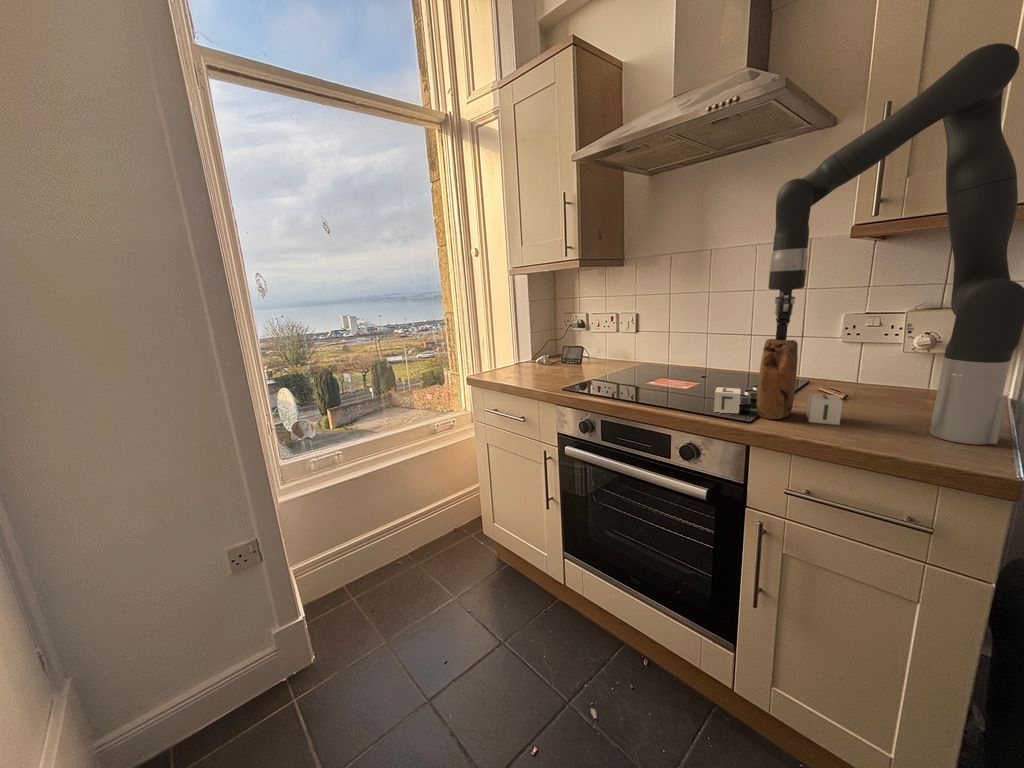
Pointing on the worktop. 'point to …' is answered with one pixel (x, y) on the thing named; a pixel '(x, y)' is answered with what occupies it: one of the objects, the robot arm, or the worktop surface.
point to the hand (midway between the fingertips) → (780, 339)
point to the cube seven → (727, 400)
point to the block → (777, 378)
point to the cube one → (824, 408)
